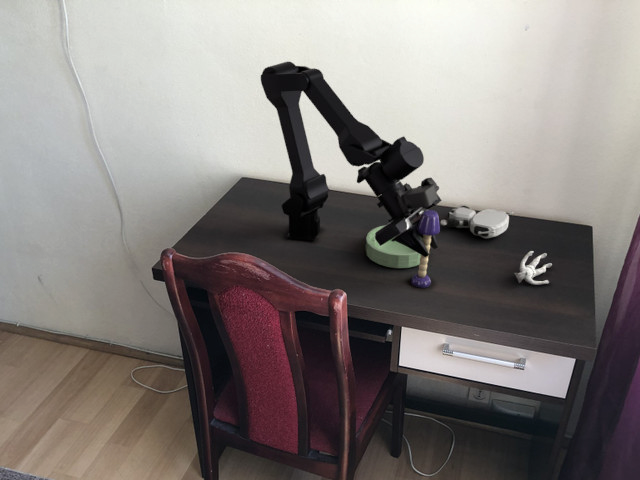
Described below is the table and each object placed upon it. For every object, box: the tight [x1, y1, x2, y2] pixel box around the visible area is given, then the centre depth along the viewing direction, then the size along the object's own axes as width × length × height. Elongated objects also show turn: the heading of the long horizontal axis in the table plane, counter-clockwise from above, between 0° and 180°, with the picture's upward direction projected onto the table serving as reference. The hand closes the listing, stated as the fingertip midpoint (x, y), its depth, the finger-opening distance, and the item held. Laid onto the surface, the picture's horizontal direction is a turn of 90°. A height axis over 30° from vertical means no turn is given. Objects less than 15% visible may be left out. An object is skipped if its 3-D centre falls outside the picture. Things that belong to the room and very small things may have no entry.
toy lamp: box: [410, 209, 441, 289], centre depth 143 cm, size 5×5×17 cm
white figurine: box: [513, 250, 553, 286], centre depth 149 cm, size 8×5×12 cm
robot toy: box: [440, 205, 515, 239], centre depth 167 cm, size 12×4×15 cm
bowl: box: [365, 224, 422, 269], centre depth 157 cm, size 14×14×4 cm
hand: (432, 252), depth 143 cm, fingers closed on toy lamp, 4 cm apart
